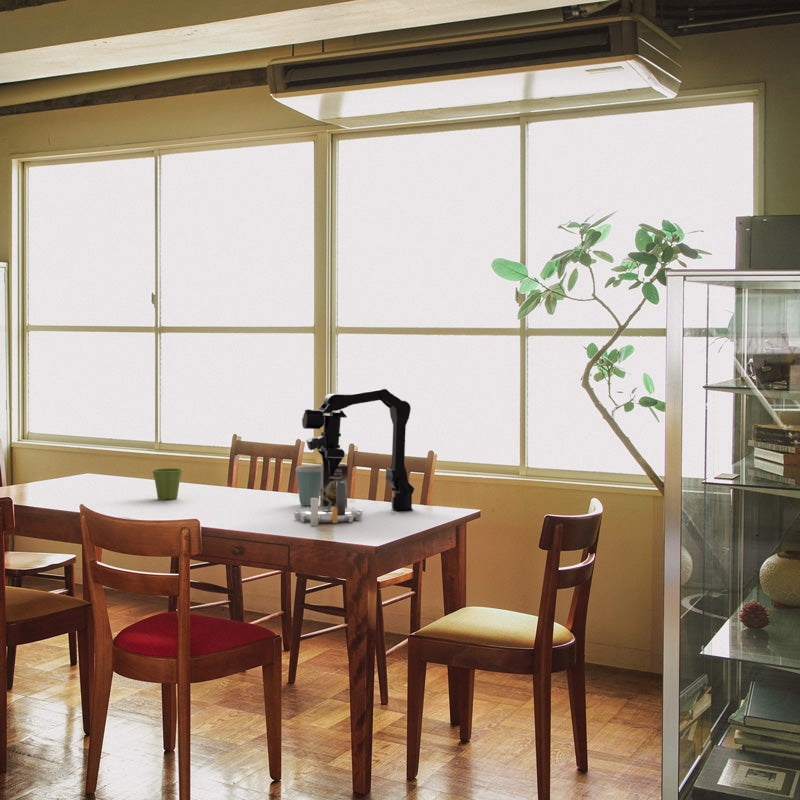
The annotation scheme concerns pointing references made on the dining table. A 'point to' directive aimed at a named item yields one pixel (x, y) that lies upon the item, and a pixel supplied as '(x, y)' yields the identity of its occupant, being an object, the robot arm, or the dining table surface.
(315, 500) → the pointer post
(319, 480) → the disposable coffee cup
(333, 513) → the sprocket
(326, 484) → the coffee box
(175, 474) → the plant pot
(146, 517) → the dining table surface
